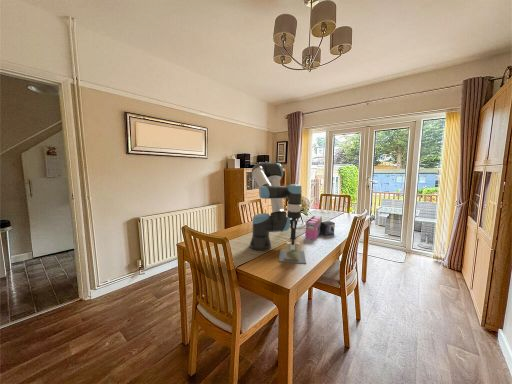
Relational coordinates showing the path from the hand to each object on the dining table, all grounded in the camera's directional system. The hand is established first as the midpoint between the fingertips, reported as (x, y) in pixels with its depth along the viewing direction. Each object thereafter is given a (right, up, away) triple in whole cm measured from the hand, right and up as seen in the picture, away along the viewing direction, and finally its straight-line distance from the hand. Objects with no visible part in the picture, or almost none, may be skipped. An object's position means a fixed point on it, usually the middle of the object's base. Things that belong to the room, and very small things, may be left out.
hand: (292, 249), depth 128 cm
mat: (+1, -7, +8) cm, 10 cm away
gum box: (+26, -2, +51) cm, 58 cm away
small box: (+38, -2, +53) cm, 66 cm away
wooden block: (0, -7, +4) cm, 8 cm away
